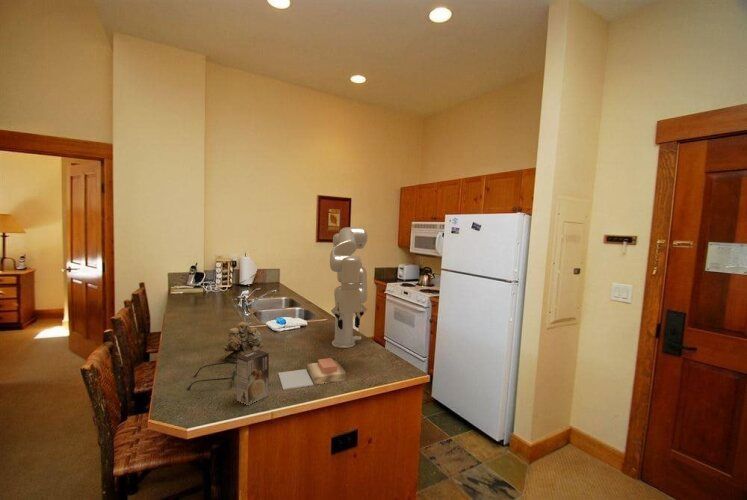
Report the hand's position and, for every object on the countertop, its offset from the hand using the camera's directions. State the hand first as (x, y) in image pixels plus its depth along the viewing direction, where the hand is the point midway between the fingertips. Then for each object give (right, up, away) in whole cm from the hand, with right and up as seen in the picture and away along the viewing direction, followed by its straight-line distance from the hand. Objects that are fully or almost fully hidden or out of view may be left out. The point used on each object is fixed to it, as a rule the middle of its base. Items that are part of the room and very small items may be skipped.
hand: (348, 327), depth 144 cm
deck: (-9, -20, -2) cm, 22 cm away
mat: (-21, -19, -7) cm, 30 cm away
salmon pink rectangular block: (-9, -15, -3) cm, 18 cm away
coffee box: (-33, -20, -23) cm, 45 cm away
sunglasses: (-53, -19, -11) cm, 57 cm away
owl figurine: (-50, -18, +13) cm, 55 cm away
